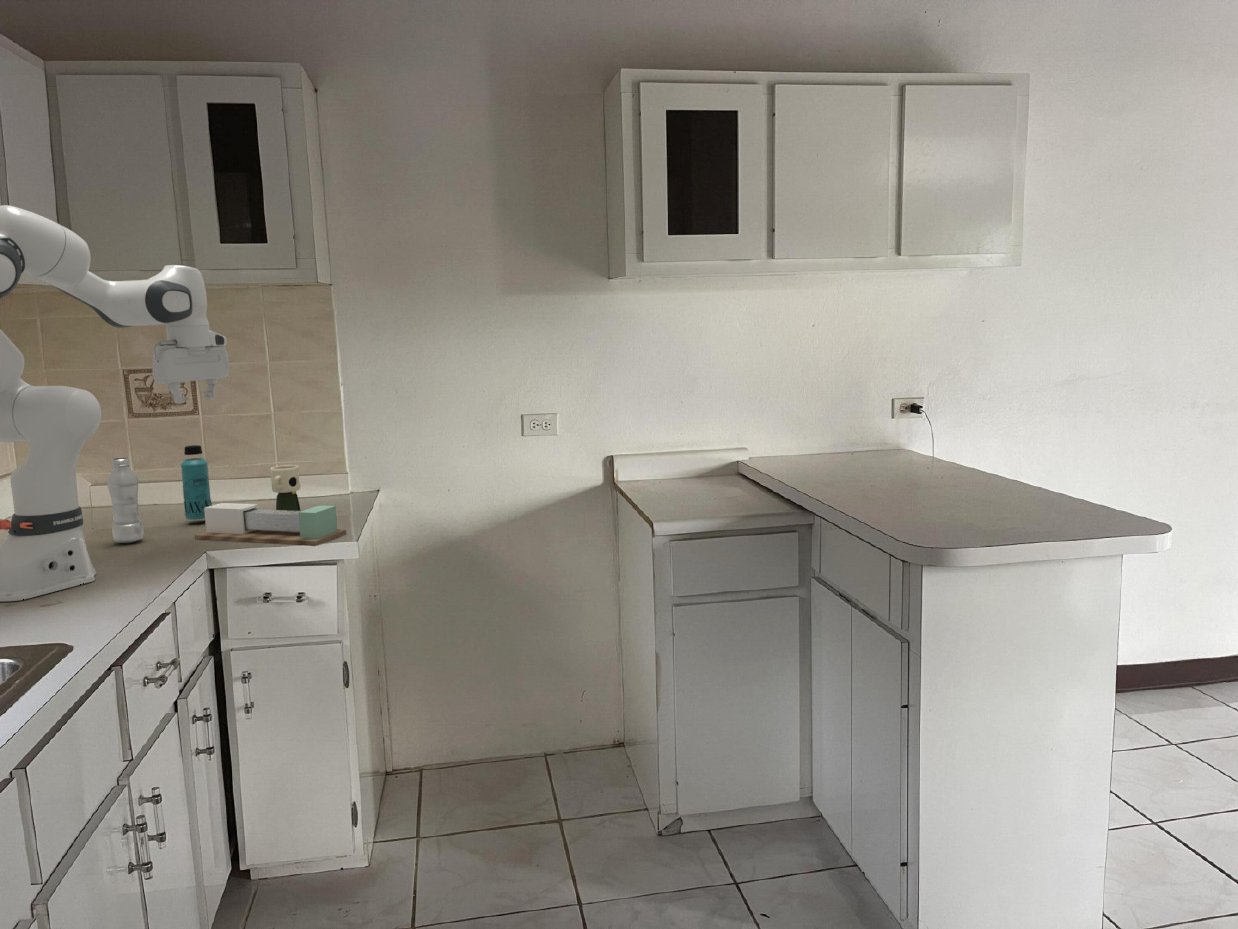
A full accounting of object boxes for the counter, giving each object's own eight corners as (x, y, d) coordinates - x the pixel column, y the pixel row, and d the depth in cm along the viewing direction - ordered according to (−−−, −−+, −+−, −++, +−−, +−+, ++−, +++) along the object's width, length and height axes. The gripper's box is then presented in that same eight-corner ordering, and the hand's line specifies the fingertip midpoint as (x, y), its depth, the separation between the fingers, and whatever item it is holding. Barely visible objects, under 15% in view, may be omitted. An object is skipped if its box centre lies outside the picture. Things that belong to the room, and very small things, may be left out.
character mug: (291, 520, 243) (287, 470, 241) (265, 520, 244) (261, 470, 242) (310, 511, 253) (306, 463, 251) (285, 511, 254) (281, 463, 252)
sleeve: (206, 532, 226) (204, 507, 225) (223, 526, 232) (221, 502, 231) (243, 534, 223) (241, 509, 222) (260, 528, 229) (257, 504, 228)
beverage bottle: (180, 524, 241) (172, 446, 238) (202, 519, 247) (194, 443, 244) (197, 526, 238) (189, 447, 235) (219, 521, 244) (212, 444, 241)
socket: (300, 538, 217) (298, 512, 216) (321, 530, 225) (319, 505, 224) (317, 539, 216) (315, 512, 215) (337, 531, 223) (335, 506, 222)
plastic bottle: (106, 545, 220) (97, 460, 217) (131, 538, 227) (122, 455, 223) (127, 546, 218) (117, 461, 215) (151, 540, 224) (142, 456, 221)
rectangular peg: (245, 529, 224) (243, 512, 223) (256, 525, 228) (254, 509, 227) (315, 532, 218) (314, 515, 217) (325, 528, 222) (324, 512, 221)
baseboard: (194, 539, 224) (194, 535, 224) (229, 528, 235) (229, 524, 235) (316, 545, 214) (315, 541, 214) (346, 533, 225) (345, 529, 225)
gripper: (165, 340, 200) (172, 405, 202) (231, 337, 219) (237, 397, 221) (141, 341, 202) (148, 405, 204) (209, 338, 221) (214, 397, 223)
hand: (195, 401), depth 213 cm, fingers open, 8 cm apart
